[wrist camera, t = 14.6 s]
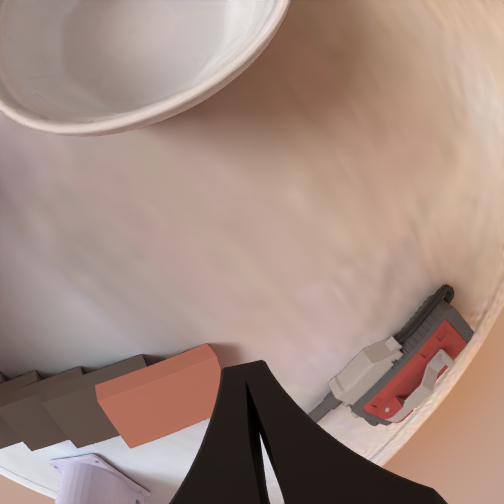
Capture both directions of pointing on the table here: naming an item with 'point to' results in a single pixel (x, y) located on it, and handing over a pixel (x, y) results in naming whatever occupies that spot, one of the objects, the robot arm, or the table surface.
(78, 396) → the domino
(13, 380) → the domino
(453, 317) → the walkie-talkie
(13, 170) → the table surface
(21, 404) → the domino
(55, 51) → the ramekin
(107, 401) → the red domino
